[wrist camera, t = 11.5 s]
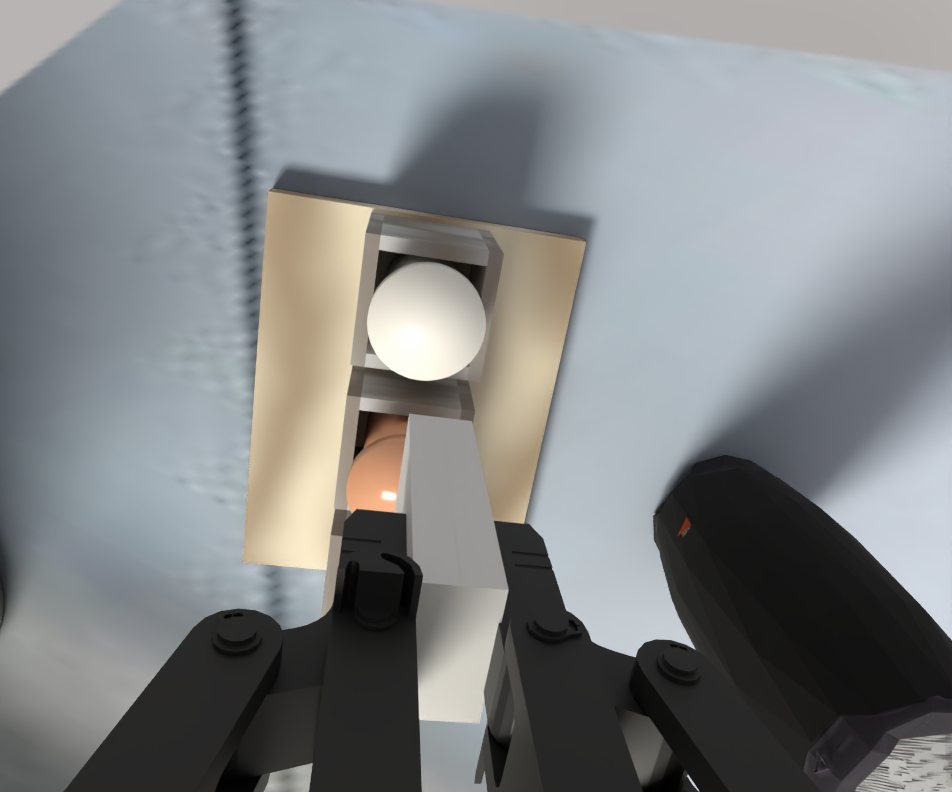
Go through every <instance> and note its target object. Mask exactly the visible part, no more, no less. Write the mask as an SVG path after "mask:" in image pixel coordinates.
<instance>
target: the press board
mask: <svg viewBox="0 0 952 792" xmlns="http://www.w3.org/2000/svg"><path fill="white" fill-rule="evenodd" d="M585 246H586V241H584V240H583V239H582V238H580V237H574V236H568V235H561V234H555V233H549V232H543V231H536V230H530V229H524V228H518V227H512V226H505V225H499V224H493V223H487V222H480V221H474V220H468V219H462V218H455V217H449V216H443V215H437V214H430V213H424V212H418V211H412V210H405V209H399V208H393V207H387V206H381V205H374V204H368V203H362V202H356V201H349V200H343V199H337V198H331V197H324V196H318V195H312V194H306V193H299V192H293V191H287V190H281V189H275V188H272V189H271V190H269V191H268V200H267V215H266V229H265V244H264V259H263V273H262V288H261V303H260V317H259V332H258V347H257V362H256V376H255V391H254V406H253V420H252V435H251V450H250V464H249V479H248V494H247V508H246V523H245V538H244V553H243V562H244V563H255V564H266V565H277V566H288V567H299V568H310V569H321V570H326V579H325V587H324V596H323V605H322V613H321V617H323V616H324V615H326V613H327V612H328V611H329V610H330V608H331V607H332V604H333V601H334V593H335V585H336V576H337V568H338V566H339V559H340V551H341V543H342V536H343V528H344V521H345V520H346V519H347V518H348V517H349V516H350V515H351V514H352V513H351V511H350V509H349V506H348V502H347V496H346V487H347V480H348V475H349V471H350V468H351V465H352V463H353V461H354V459H355V458H356V457H357V455H358V454H359V453H360V452H361V451H362V450H363V449H364V441H365V433H366V425H367V418H368V415H369V412H370V411H371V412H379V413H387V414H396V415H404V416H409V414H416V415H425V416H433V417H442V418H450V419H458V420H467V421H472V424H473V428H474V433H475V438H476V442H477V447H478V451H479V456H480V461H481V465H482V470H483V474H484V479H485V484H486V488H487V493H488V497H489V502H490V507H491V511H492V516H493V520H494V521H503V522H513V523H523V524H524V521H525V517H526V512H527V508H528V503H529V499H530V494H531V490H532V485H533V481H534V476H535V472H536V467H537V463H538V458H539V454H540V449H541V445H542V440H543V436H544V431H545V427H546V422H547V417H548V413H549V408H550V404H551V399H552V395H553V390H554V386H555V381H556V377H557V372H558V368H559V363H560V359H561V354H562V350H563V345H564V341H565V336H566V332H567V327H568V323H569V318H570V314H571V309H572V305H573V300H574V296H575V291H576V287H577V282H578V278H579V273H580V269H581V264H582V260H583V255H584V251H585ZM400 253H402V254H409V255H415V256H422V257H429V258H435V259H442V260H448V261H454V262H455V264H456V265H457V267H458V269H459V272H460V273H461V274H463V275H464V276H465V277H466V278H467V279H468V280H469V281H470V282H471V283H472V285H473V286H474V287H475V289H476V290H477V292H478V294H479V296H480V299H481V301H482V304H483V307H484V311H485V317H486V330H485V336H484V340H483V343H482V345H481V348H480V349H479V351H478V353H477V354H476V356H475V357H474V358H473V360H472V361H471V362H470V363H469V364H468V365H467V366H466V367H464V368H463V369H462V370H460V371H459V372H457V373H455V374H453V375H451V376H449V377H446V378H443V379H438V380H431V381H422V380H415V379H410V378H407V377H404V376H402V375H400V374H398V373H396V372H394V371H393V370H391V369H390V368H389V367H387V366H386V365H385V364H384V363H383V362H382V361H381V360H380V359H379V357H378V356H377V354H376V353H375V351H374V349H373V347H372V345H371V342H370V340H369V336H368V330H367V317H368V311H369V306H370V302H371V299H372V296H373V294H374V292H375V290H376V289H377V287H378V286H379V285H380V283H381V282H382V281H383V280H384V279H385V276H386V272H387V269H388V267H389V265H390V264H391V262H392V261H393V259H394V258H395V257H396V256H397V255H398V254H400Z"/></svg>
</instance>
